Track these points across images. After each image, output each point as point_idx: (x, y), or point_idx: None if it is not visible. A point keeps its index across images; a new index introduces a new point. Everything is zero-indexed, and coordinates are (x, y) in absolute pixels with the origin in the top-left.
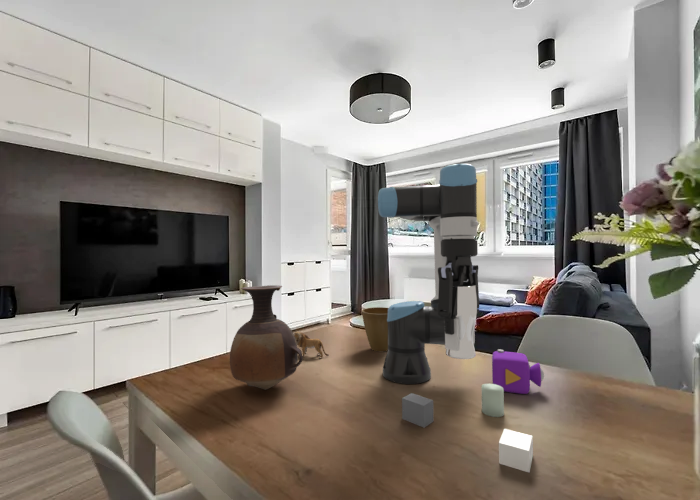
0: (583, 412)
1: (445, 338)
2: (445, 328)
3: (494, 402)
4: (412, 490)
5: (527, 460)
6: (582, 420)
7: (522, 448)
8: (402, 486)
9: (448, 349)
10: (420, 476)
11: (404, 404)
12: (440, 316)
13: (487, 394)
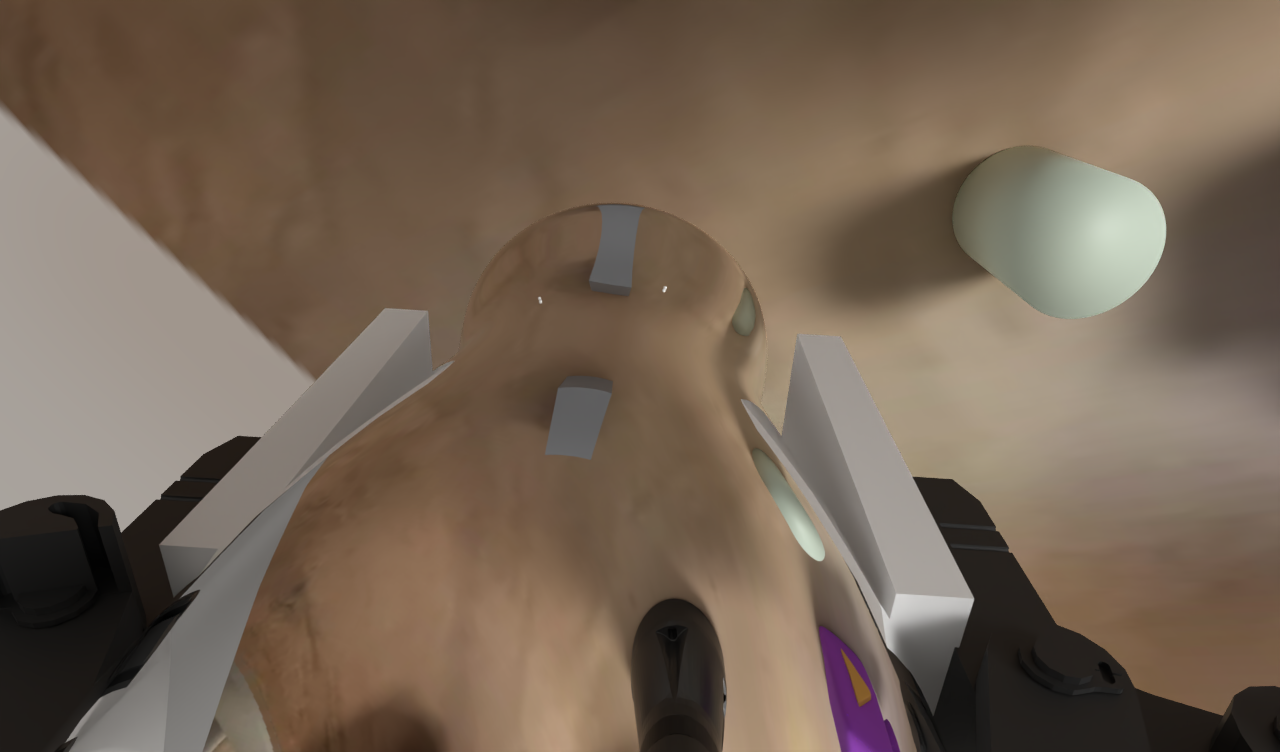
0: (1228, 543)
1: (338, 364)
2: (179, 488)
3: (988, 261)
4: (136, 201)
5: None
6: (1127, 548)
7: None
8: (117, 158)
9: (473, 300)
10: (223, 182)
11: None
12: (28, 519)
13: (1004, 232)
